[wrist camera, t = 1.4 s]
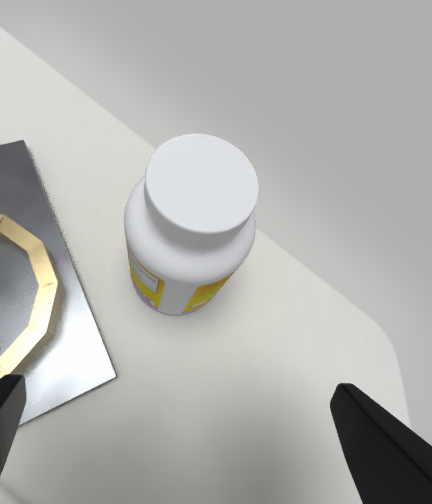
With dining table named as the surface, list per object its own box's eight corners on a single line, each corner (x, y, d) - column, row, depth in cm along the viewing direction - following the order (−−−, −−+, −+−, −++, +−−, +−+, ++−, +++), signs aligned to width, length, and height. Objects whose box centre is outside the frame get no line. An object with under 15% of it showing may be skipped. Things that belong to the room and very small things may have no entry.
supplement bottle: (224, 244, 26) (291, 140, 15) (209, 325, 24) (275, 277, 12) (143, 223, 25) (145, 94, 14) (119, 304, 23) (94, 232, 11)
